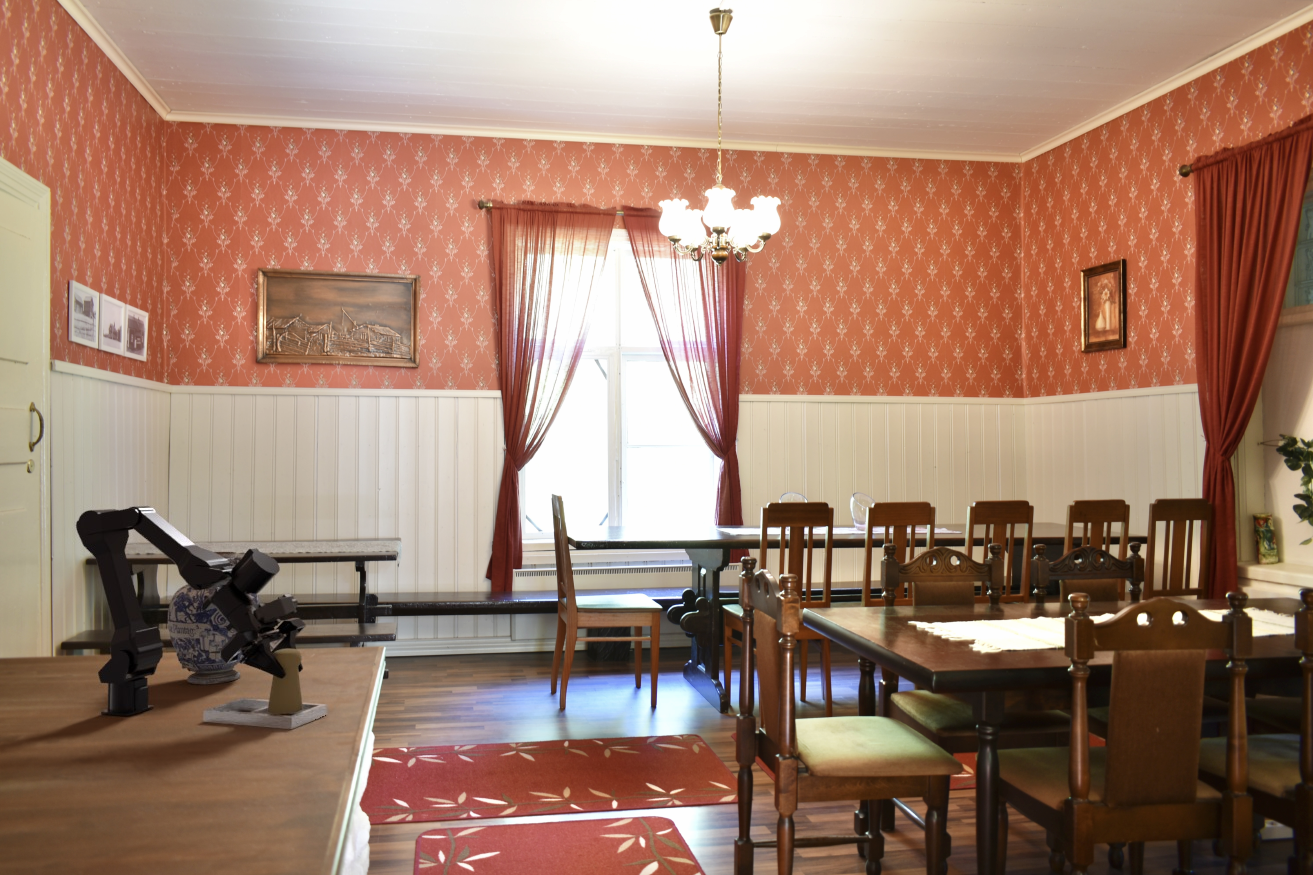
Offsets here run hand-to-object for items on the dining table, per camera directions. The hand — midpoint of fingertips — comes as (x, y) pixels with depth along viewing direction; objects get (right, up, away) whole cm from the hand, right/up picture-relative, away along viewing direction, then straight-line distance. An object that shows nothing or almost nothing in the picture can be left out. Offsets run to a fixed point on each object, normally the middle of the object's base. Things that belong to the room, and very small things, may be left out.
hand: (292, 673), depth 170 cm
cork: (-1, -7, 0) cm, 7 cm away
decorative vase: (-31, -10, +35) cm, 48 cm away
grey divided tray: (-5, -9, +1) cm, 10 cm away
